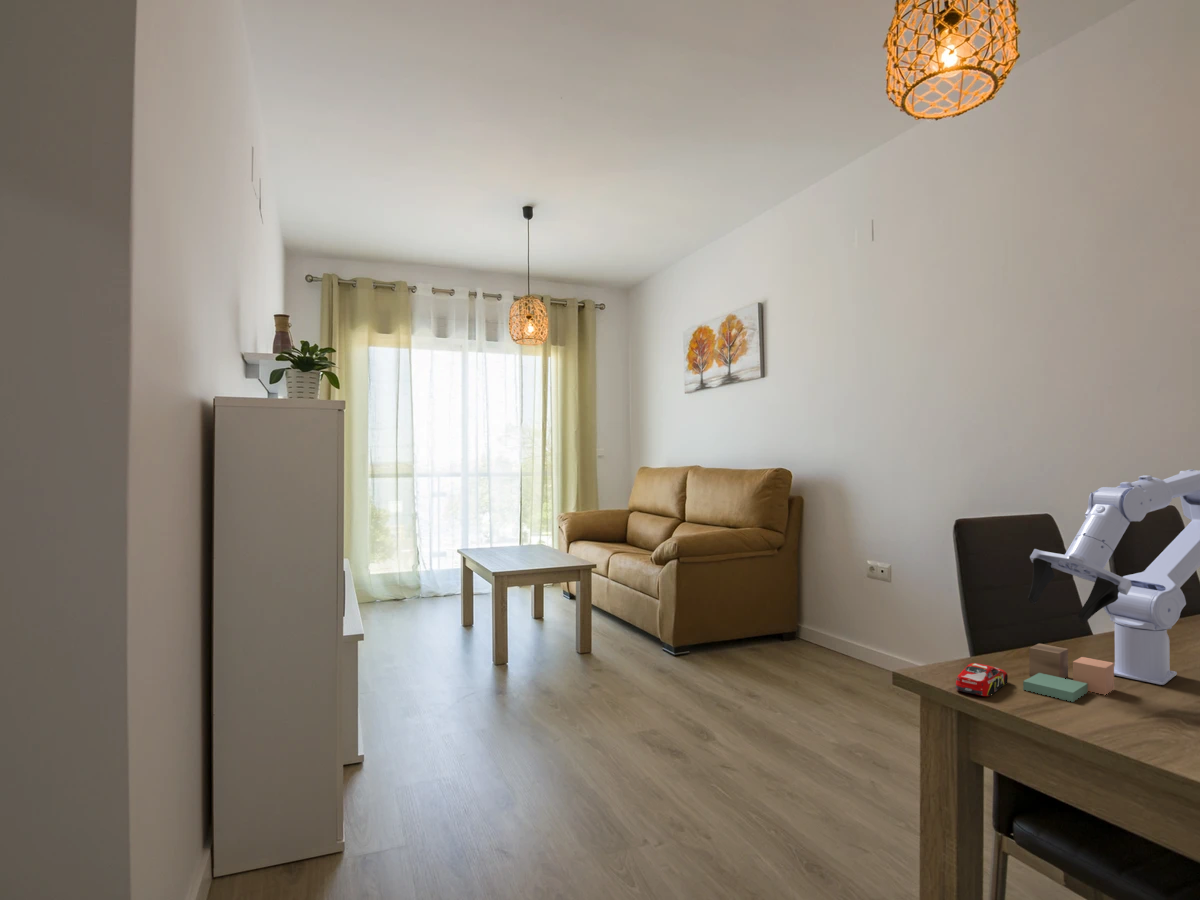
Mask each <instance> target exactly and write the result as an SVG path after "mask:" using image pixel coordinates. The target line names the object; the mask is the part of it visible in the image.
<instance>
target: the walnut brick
mask: <svg viewBox="0 0 1200 900" xmlns="http://www.w3.org/2000/svg"><path fill="white" fill-rule="evenodd" d="M1028 649H1029V650H1028V651H1029V655H1028V656H1029V658H1028V659H1029V660H1028V661H1029V662H1028V663H1029V664H1028V665H1029V667H1028V668H1029V670H1028V671H1029V672H1028V673H1029V677H1032V676H1034V675H1036V674H1038V673H1042V674H1047V675H1052V676H1056V677H1061V678H1066V677H1068V678H1069V648H1064V647H1061V646H1060V647H1058V646H1054V645H1048V644H1043V643H1037V644H1035V645H1033V646H1030V647H1029V648H1028ZM1066 679H1067V678H1066Z"/></svg>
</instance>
